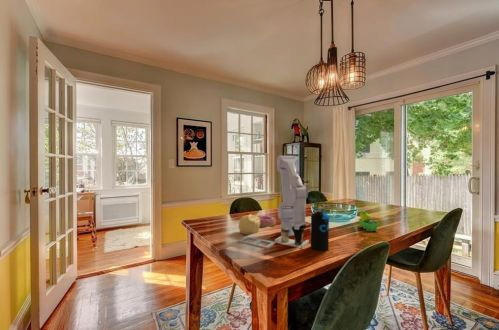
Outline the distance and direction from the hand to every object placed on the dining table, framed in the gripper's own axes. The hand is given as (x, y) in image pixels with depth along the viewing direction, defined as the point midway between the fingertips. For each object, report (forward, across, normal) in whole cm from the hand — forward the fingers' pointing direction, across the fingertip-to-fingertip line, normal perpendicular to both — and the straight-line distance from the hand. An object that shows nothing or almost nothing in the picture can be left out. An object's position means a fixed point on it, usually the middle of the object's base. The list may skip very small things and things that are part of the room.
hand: (298, 240), depth 113 cm
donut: (+3, -34, -27) cm, 43 cm away
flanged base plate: (+3, -1, -3) cm, 5 cm away
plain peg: (+1, -1, -7) cm, 7 cm away
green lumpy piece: (+3, -49, +34) cm, 60 cm away
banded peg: (+1, 0, 0) cm, 1 cm away
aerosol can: (+3, +2, +10) cm, 10 cm away
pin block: (+3, +6, -19) cm, 20 cm away
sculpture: (+3, -12, -29) cm, 32 cm away
